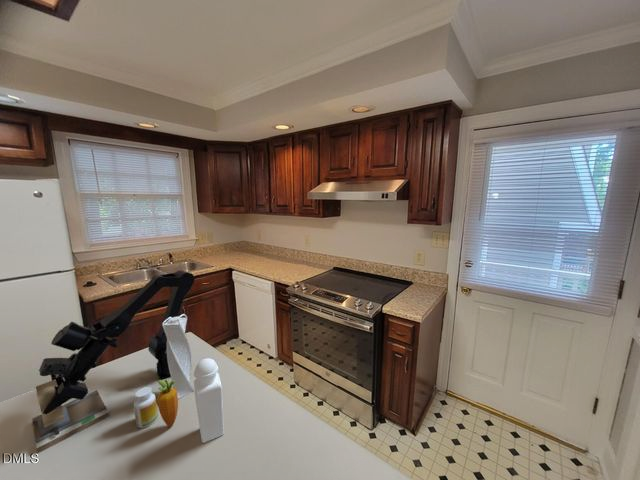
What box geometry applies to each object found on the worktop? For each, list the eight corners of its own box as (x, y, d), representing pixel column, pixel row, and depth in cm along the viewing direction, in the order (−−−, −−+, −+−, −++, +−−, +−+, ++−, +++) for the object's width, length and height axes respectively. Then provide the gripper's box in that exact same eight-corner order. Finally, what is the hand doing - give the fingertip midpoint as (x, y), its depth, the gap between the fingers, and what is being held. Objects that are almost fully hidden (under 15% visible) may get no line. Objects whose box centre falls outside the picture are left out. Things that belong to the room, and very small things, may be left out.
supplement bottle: (162, 414, 81) (158, 385, 79) (149, 429, 76) (145, 399, 74) (145, 413, 81) (141, 384, 80) (132, 428, 76) (127, 398, 75)
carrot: (184, 421, 78) (179, 375, 75) (170, 436, 73) (164, 387, 71) (171, 417, 79) (166, 372, 77) (156, 431, 75) (150, 383, 72)
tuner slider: (66, 408, 81) (59, 374, 79) (72, 429, 74) (65, 391, 72) (37, 421, 77) (29, 385, 75) (41, 444, 69) (33, 405, 68)
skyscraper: (199, 391, 90) (191, 313, 86) (176, 403, 85) (166, 321, 80) (190, 380, 96) (182, 307, 91) (167, 391, 90) (157, 314, 86)
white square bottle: (200, 446, 70) (192, 370, 67) (198, 427, 76) (191, 357, 72) (226, 435, 73) (219, 363, 69) (222, 418, 79) (216, 350, 75)
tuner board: (97, 394, 90) (96, 388, 90) (109, 416, 80) (108, 410, 80) (33, 423, 78) (31, 416, 78) (37, 453, 69) (36, 446, 69)
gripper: (55, 336, 82) (8, 388, 75) (64, 358, 70) (9, 422, 63) (92, 348, 89) (52, 396, 83) (106, 370, 77) (60, 429, 71)
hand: (44, 409), depth 75 cm, fingers closed on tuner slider, 4 cm apart
